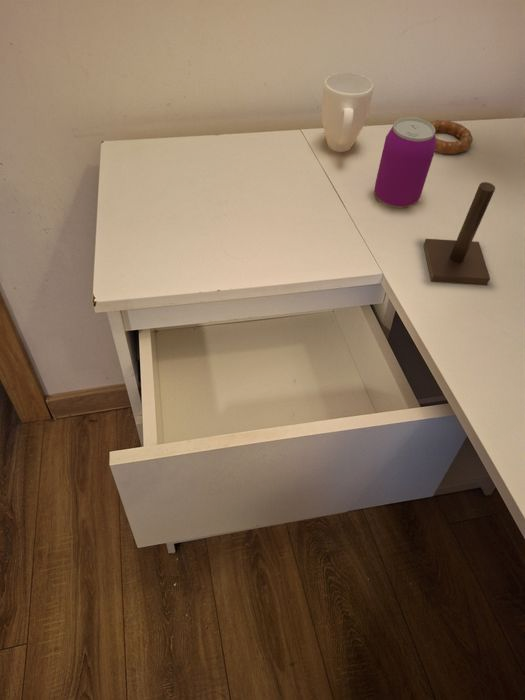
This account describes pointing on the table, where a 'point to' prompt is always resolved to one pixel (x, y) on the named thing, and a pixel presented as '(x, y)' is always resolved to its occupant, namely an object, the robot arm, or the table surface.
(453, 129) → the ring
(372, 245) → the table surface
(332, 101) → the mug
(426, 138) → the beverage can
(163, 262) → the table surface
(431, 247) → the peg stand
